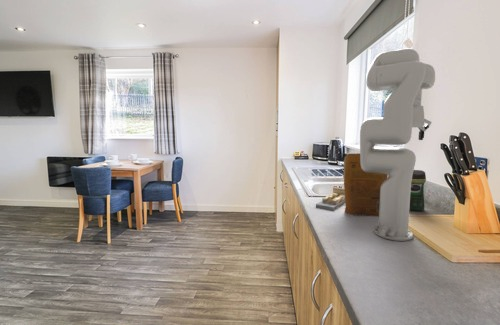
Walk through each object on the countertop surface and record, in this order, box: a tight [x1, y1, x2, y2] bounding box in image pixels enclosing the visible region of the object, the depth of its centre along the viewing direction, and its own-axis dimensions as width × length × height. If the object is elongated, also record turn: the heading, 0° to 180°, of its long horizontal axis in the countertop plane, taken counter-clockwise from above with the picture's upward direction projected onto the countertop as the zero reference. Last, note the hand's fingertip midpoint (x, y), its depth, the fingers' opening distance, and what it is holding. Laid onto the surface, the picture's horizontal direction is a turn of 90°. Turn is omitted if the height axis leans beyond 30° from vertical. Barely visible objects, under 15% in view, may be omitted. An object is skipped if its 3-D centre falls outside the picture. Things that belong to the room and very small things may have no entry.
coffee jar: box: [409, 169, 427, 212], centre depth 123 cm, size 10×8×19 cm
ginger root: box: [321, 186, 345, 204], centre depth 136 cm, size 14×7×5 cm, turn 140°
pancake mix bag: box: [342, 152, 388, 217], centre depth 117 cm, size 7×19×28 cm, turn 77°
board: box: [315, 192, 345, 211], centre depth 135 cm, size 20×9×5 cm, turn 140°
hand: (409, 139), depth 125 cm, fingers open, 9 cm apart
